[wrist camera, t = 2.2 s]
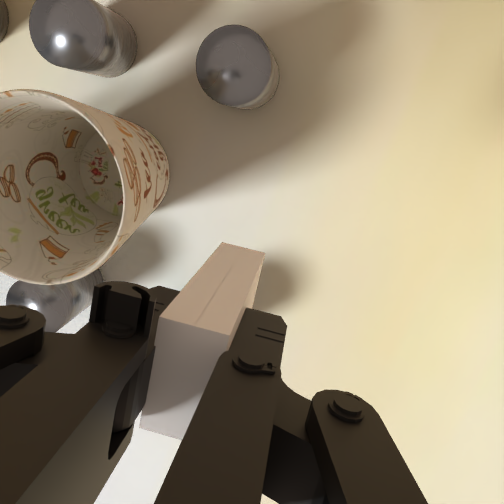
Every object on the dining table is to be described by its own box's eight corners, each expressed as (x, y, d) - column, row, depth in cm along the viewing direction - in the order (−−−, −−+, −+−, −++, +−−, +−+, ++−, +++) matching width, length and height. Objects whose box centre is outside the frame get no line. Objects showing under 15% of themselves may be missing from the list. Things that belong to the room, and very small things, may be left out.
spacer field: (-59, 269, 33) (-122, 293, 28) (-47, -24, 28) (-121, -54, 23) (219, 343, 32) (202, 382, 27) (285, 50, 27) (278, 33, 22)
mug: (191, 238, 30) (132, 290, 21) (7, 232, 32) (-126, 278, 22) (186, 101, 28) (119, 87, 19) (-10, 102, 30) (-165, 90, 20)
